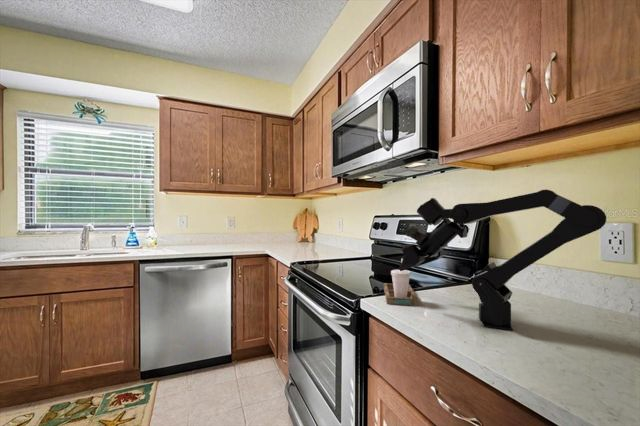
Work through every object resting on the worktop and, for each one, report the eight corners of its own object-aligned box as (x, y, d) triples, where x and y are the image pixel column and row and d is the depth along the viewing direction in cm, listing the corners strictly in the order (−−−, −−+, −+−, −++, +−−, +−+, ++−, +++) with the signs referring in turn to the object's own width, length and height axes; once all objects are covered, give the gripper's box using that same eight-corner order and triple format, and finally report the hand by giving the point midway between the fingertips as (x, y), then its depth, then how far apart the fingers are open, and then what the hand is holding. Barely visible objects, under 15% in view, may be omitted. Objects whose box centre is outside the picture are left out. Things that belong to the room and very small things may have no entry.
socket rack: (383, 288, 108) (383, 283, 108) (409, 289, 106) (409, 284, 106) (386, 304, 89) (387, 297, 89) (418, 305, 88) (418, 299, 88)
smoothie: (414, 302, 91) (414, 259, 91) (396, 303, 90) (396, 260, 90) (404, 296, 97) (404, 256, 97) (387, 297, 96) (387, 257, 96)
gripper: (435, 217, 94) (405, 246, 102) (407, 218, 81) (376, 251, 89) (459, 242, 89) (426, 271, 97) (434, 247, 76) (398, 280, 84)
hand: (407, 267), depth 92 cm, fingers open, 9 cm apart
